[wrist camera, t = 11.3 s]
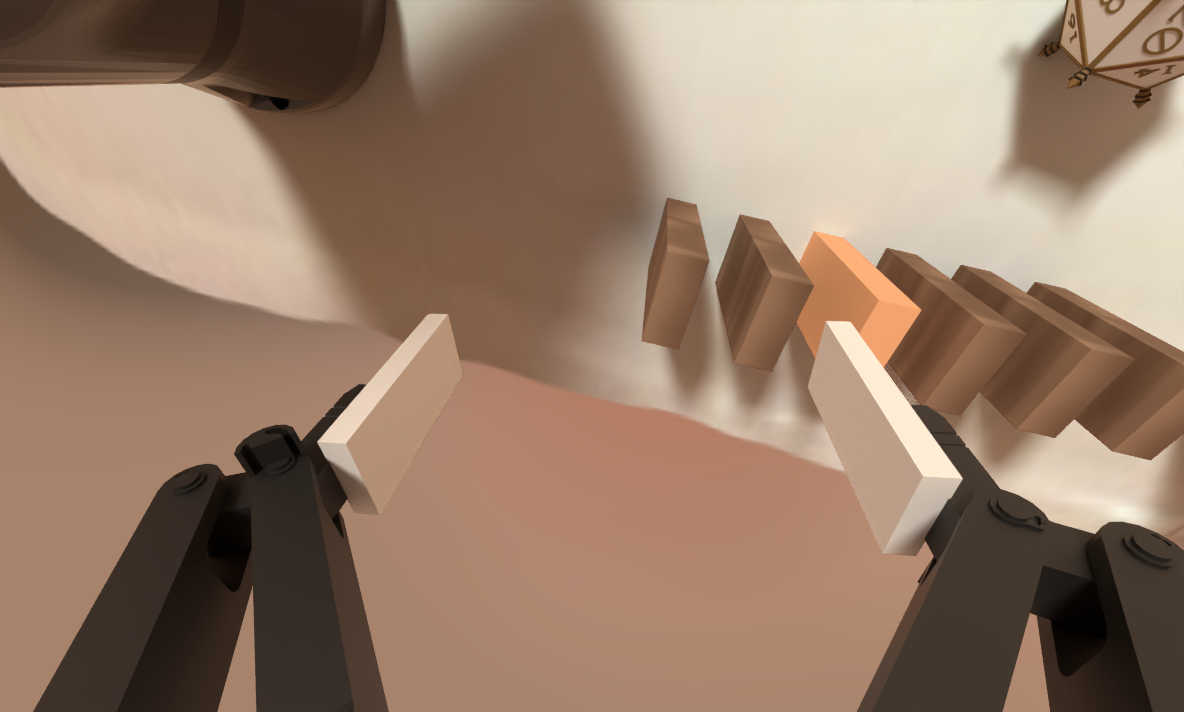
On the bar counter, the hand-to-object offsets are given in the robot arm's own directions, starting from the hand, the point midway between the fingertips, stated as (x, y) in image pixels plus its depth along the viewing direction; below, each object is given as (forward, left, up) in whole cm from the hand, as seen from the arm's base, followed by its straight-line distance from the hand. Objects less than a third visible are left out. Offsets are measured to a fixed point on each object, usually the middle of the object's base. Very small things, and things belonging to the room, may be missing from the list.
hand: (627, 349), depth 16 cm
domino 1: (+2, 0, -18) cm, 18 cm away
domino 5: (+20, +10, -18) cm, 28 cm away
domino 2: (+7, +3, -18) cm, 19 cm away
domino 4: (+15, +8, -18) cm, 25 cm away
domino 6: (+24, +13, -18) cm, 32 cm away
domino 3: (+11, +5, -18) cm, 22 cm away
